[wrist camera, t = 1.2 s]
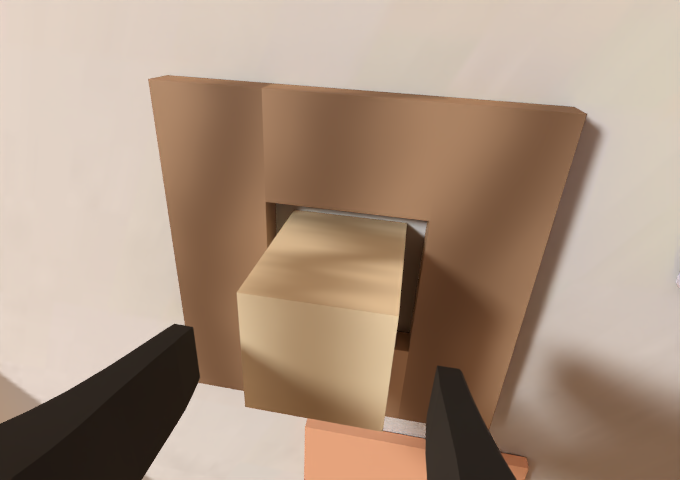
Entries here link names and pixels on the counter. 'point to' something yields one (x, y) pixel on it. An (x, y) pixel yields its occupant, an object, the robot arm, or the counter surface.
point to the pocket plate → (366, 209)
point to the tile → (371, 454)
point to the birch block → (323, 319)
